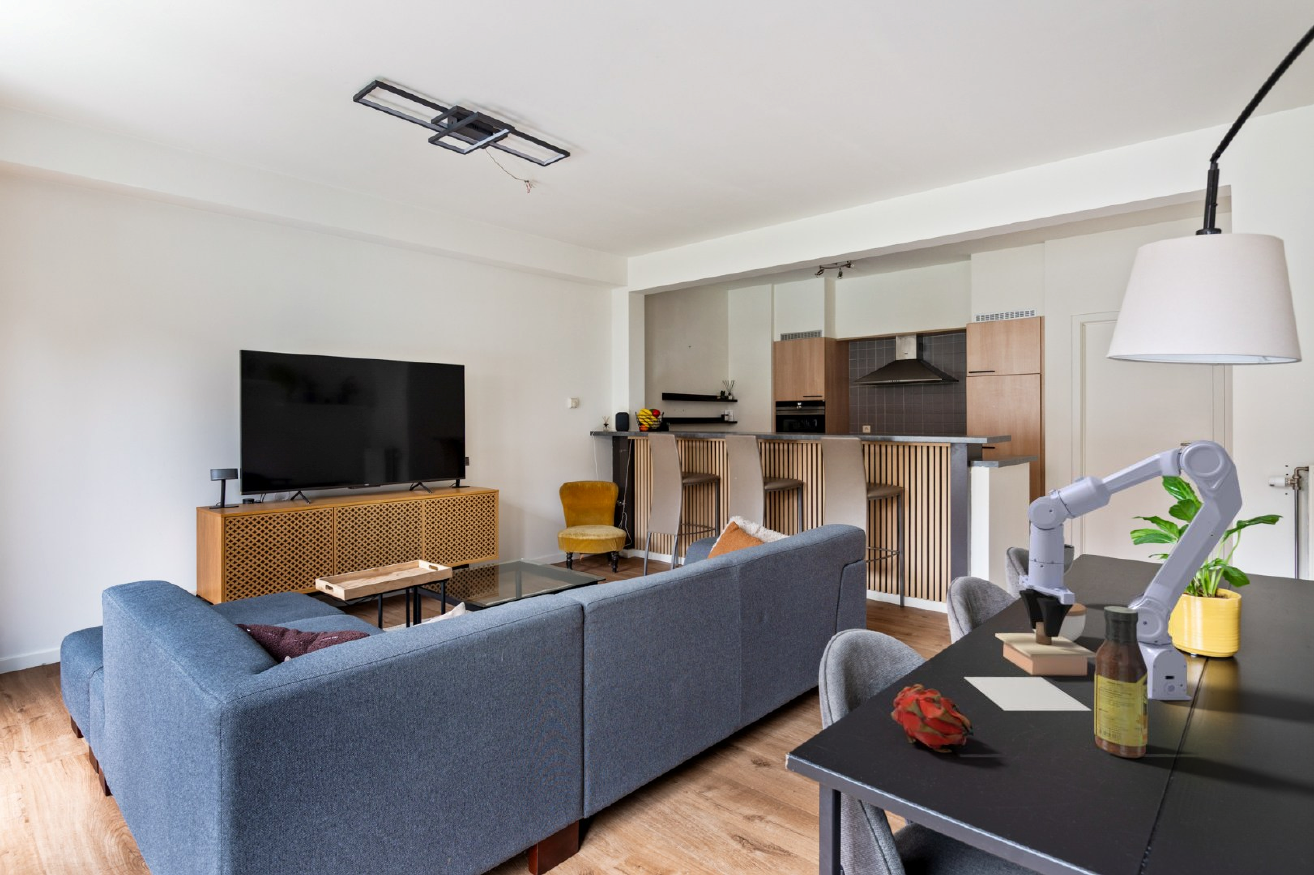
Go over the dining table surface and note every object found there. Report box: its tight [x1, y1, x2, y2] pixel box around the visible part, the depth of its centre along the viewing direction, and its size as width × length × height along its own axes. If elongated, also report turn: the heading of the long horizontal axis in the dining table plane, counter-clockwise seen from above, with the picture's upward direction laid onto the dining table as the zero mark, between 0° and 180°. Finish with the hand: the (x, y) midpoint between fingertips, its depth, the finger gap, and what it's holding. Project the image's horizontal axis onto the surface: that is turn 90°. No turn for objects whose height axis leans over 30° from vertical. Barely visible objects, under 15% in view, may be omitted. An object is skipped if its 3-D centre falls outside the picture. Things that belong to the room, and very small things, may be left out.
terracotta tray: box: [1002, 641, 1088, 677], centre depth 130 cm, size 10×10×4 cm
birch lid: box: [994, 622, 1096, 658], centre depth 130 cm, size 12×12×4 cm
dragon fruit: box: [889, 683, 977, 754], centre depth 99 cm, size 8×8×12 cm
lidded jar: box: [1028, 601, 1087, 642], centre depth 146 cm, size 11×11×9 cm
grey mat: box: [963, 676, 1092, 712], centre depth 116 cm, size 14×14×1 cm
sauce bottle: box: [1093, 605, 1149, 759], centre depth 97 cm, size 7×6×20 cm
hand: (1044, 632), depth 129 cm, fingers open, 4 cm apart
